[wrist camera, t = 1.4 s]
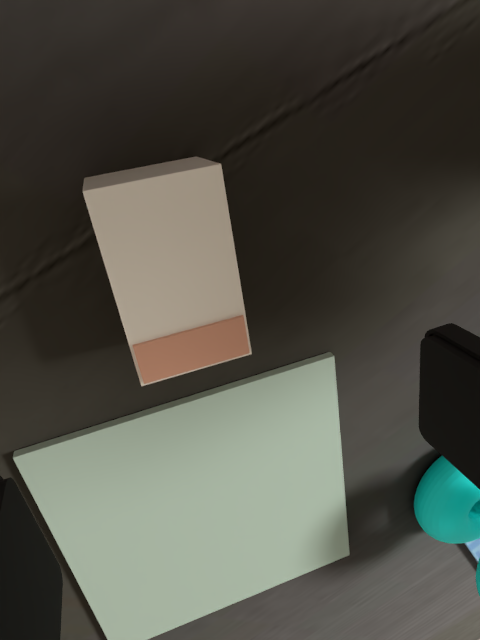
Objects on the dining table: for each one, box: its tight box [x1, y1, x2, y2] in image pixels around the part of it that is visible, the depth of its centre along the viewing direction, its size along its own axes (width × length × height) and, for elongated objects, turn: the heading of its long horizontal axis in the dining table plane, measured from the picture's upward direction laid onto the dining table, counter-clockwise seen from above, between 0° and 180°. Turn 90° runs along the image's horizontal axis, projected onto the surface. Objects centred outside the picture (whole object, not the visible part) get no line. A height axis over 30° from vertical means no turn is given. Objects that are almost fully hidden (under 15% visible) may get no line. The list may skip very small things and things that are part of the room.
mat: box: [13, 352, 350, 640], centre depth 31 cm, size 20×20×1 cm
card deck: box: [82, 156, 252, 386], centre depth 21 cm, size 6×9×5 cm, turn 9°
